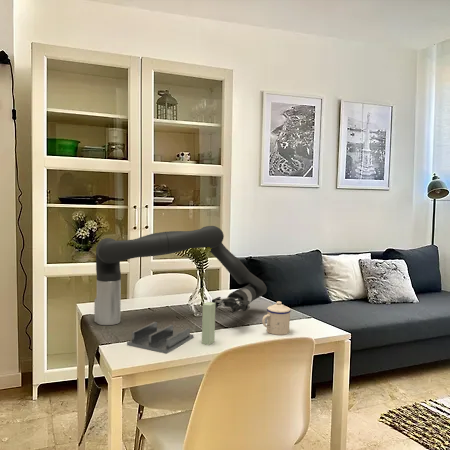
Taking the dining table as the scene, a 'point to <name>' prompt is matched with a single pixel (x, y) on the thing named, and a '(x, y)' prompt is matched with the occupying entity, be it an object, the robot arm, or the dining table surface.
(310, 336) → the dining table surface
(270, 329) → the teacup with lid
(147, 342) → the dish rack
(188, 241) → the robot arm
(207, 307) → the pale green rectangular block
